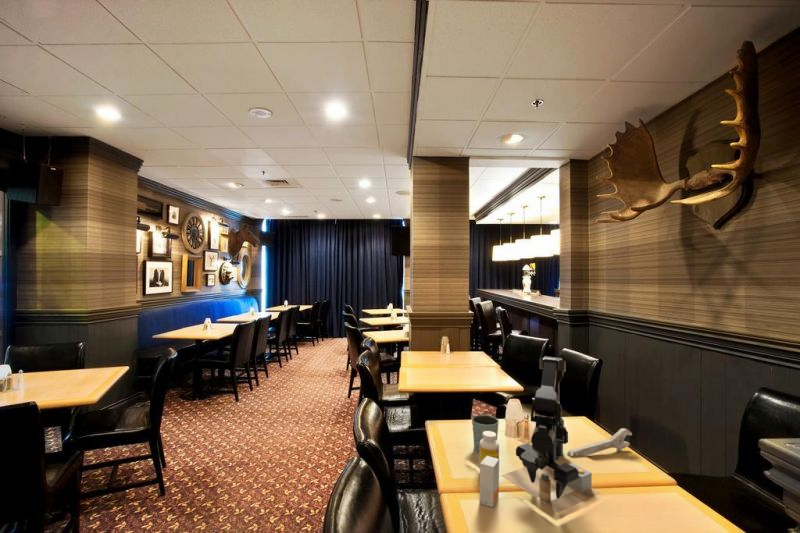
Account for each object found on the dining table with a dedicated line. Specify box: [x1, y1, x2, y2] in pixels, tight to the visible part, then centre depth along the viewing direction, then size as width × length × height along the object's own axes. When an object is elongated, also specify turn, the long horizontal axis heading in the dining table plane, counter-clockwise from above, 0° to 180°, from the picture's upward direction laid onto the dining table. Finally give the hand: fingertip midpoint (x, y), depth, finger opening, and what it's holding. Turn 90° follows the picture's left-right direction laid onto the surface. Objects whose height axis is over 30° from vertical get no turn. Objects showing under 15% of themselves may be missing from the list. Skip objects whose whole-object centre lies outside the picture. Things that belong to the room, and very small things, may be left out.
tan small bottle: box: [539, 473, 551, 503], centre depth 113 cm, size 3×3×7 cm
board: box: [501, 466, 601, 513], centre depth 122 cm, size 20×22×1 cm
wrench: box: [567, 427, 633, 458], centre depth 145 cm, size 8×2×30 cm
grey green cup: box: [471, 414, 499, 454], centre depth 146 cm, size 10×10×12 cm
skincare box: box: [479, 456, 500, 508], centre depth 114 cm, size 6×4×12 cm
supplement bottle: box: [478, 431, 500, 469], centre depth 131 cm, size 7×7×13 cm
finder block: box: [567, 462, 593, 493], centre depth 121 cm, size 5×7×5 cm
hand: (545, 489), depth 113 cm, fingers open, 9 cm apart
